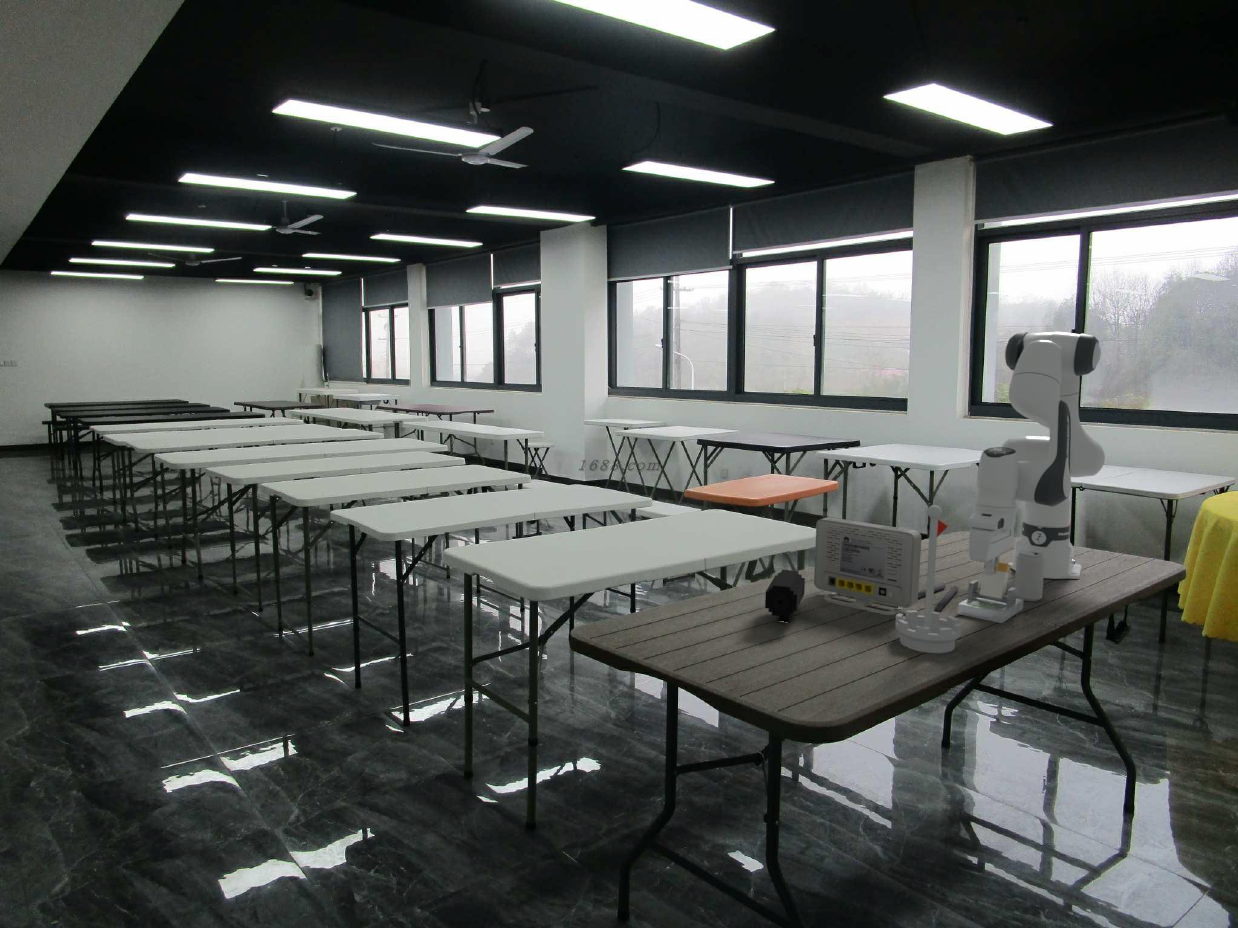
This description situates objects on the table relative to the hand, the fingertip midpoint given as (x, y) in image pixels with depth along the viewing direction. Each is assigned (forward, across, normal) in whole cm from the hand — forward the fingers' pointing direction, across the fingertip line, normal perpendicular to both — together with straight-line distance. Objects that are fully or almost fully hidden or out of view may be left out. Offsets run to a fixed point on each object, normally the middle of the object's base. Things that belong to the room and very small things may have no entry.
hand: (990, 574), depth 193 cm
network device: (+10, +14, -25) cm, 30 cm away
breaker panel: (+10, -2, 0) cm, 10 cm away
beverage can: (+10, -20, +3) cm, 23 cm away
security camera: (+10, +37, -33) cm, 51 cm away
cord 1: (+10, -5, -17) cm, 20 cm away
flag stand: (+10, +31, -2) cm, 32 cm away
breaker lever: (+6, -2, 0) cm, 6 cm away
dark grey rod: (+10, -3, -11) cm, 15 cm away
